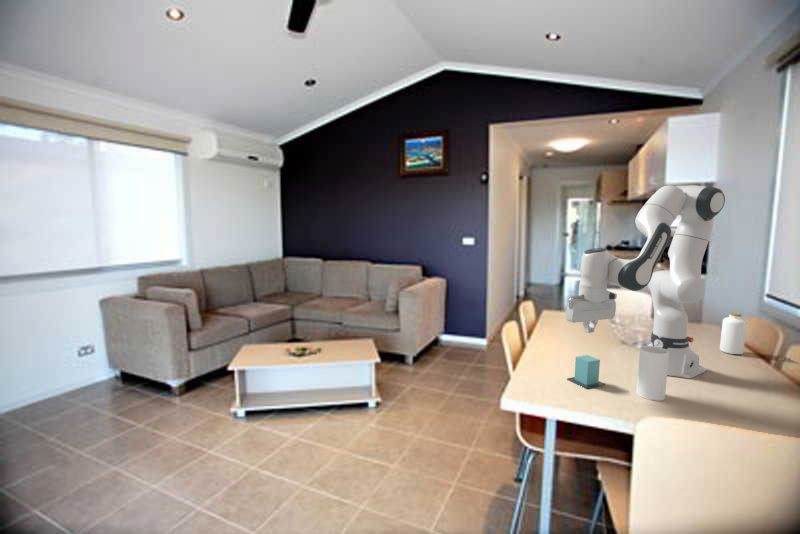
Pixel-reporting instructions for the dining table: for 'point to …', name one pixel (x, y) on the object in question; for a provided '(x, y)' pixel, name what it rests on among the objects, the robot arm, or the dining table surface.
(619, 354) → the dining table surface
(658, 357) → the cup
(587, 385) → the post
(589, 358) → the teal rectangular block
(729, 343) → the potion bottle
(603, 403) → the dining table surface
